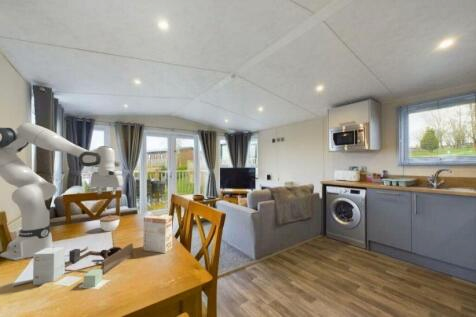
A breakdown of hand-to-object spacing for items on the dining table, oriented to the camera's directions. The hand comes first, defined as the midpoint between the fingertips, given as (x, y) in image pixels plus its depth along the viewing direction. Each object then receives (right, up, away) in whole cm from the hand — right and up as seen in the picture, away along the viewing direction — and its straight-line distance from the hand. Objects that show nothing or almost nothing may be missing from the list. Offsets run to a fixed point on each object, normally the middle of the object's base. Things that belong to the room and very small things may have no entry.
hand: (106, 194), depth 124 cm
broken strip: (+16, -31, -41) cm, 54 cm away
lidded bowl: (-14, -32, +25) cm, 42 cm away
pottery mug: (+17, -31, -21) cm, 42 cm away
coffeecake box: (+35, -32, -7) cm, 48 cm away
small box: (0, -31, -38) cm, 49 cm away
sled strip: (+11, -31, -24) cm, 41 cm away
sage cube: (+22, -30, -42) cm, 56 cm away
